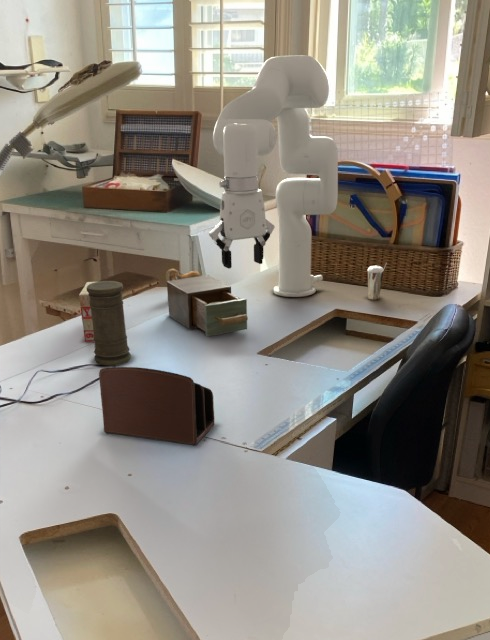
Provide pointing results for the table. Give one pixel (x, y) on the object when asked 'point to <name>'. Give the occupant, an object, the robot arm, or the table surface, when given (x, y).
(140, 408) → the letter holder
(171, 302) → the cabinet
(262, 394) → the table surface
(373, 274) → the milkshake
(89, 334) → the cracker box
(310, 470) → the table surface
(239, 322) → the drawer
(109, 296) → the container
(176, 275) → the lion figurine
